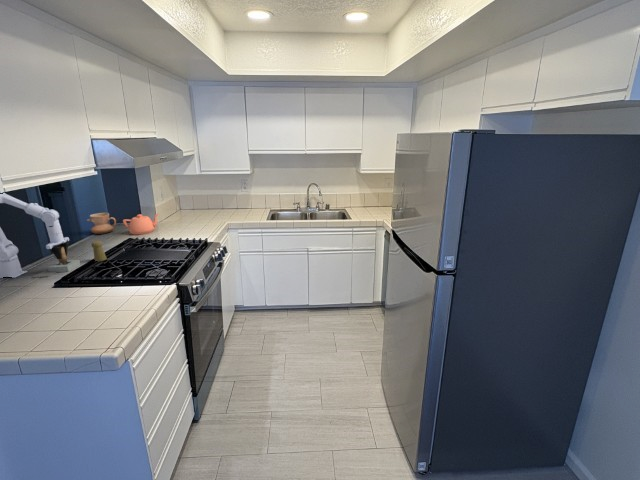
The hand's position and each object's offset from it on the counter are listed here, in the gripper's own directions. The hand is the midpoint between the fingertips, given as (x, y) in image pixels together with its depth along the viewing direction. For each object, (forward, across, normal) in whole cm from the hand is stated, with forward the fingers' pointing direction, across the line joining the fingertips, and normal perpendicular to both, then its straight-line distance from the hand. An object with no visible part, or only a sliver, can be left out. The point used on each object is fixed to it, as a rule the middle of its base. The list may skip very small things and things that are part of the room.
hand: (62, 257), depth 178 cm
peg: (+2, 0, 0) cm, 3 cm away
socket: (+6, 0, 0) cm, 6 cm away
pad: (+6, -7, +5) cm, 11 cm away
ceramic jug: (+7, +75, +20) cm, 78 cm away
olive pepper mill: (+7, +12, -12) cm, 18 cm away
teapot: (+7, +71, -11) cm, 72 cm away
